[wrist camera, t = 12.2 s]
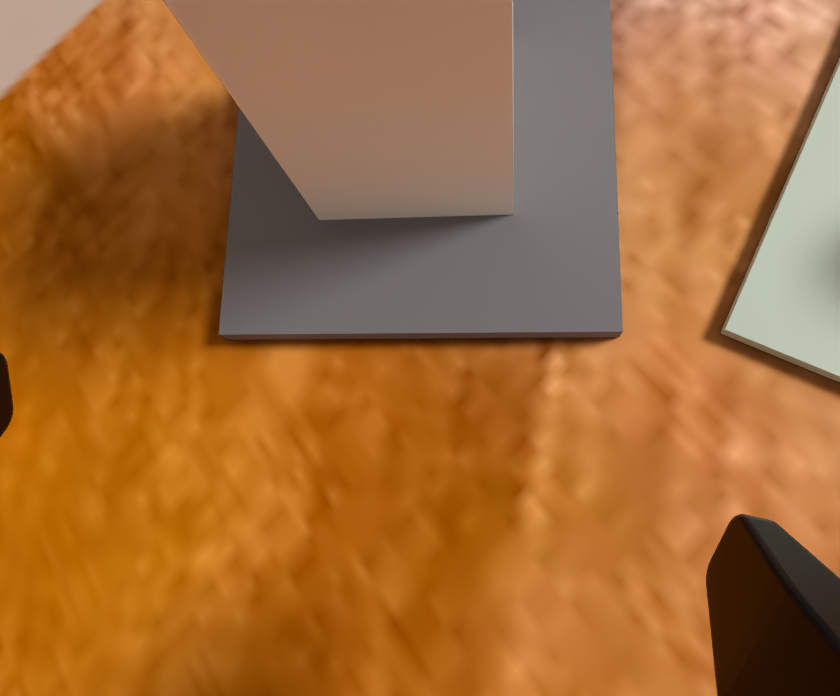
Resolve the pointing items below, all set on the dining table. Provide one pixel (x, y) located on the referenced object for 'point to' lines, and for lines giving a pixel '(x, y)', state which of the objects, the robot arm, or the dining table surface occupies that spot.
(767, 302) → the coaster
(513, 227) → the mat
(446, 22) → the block
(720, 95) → the dining table surface
